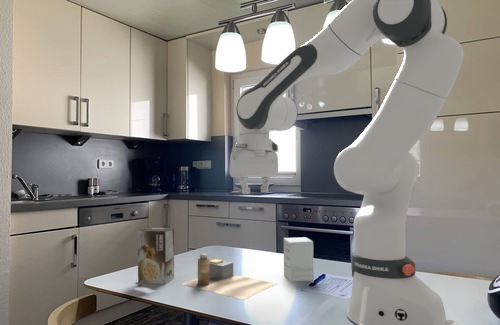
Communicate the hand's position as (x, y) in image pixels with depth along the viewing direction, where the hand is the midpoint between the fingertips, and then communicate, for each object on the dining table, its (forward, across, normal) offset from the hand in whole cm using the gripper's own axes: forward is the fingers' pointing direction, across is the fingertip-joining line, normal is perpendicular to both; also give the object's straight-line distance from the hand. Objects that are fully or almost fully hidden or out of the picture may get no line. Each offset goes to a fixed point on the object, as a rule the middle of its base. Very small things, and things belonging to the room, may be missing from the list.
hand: (255, 193), depth 107 cm
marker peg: (+25, -9, +13) cm, 30 cm away
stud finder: (+25, -1, +14) cm, 29 cm away
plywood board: (+26, -5, +7) cm, 28 cm away
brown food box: (+26, -14, +27) cm, 40 cm away
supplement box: (+27, +12, -6) cm, 30 cm away
